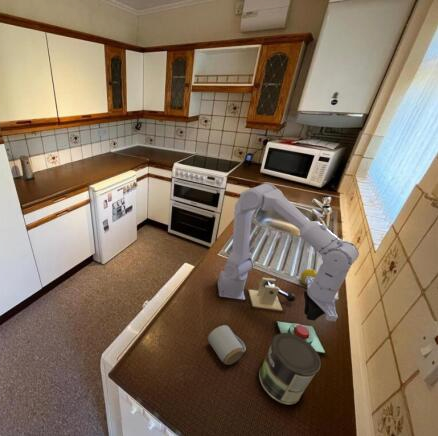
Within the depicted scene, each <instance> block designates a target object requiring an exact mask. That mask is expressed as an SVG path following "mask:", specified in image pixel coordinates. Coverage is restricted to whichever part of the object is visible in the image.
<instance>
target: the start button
mask: <svg viewBox="0 0 438 436" xmlns="http://www.w3.org/2000/svg"><path fill="white" fill-rule="evenodd" d="M303 325H304V324H301V325H297V326H296V328H295V334H296V335H297V336H299V337H301V338H303V339H305V338H307V337H308V335H309V330H308V329H307V328H306V327H305V326H306V325H305V326H303Z"/></svg>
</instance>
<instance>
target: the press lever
mask: <svg viewBox="0 0 438 436" xmlns="http://www.w3.org/2000/svg"><path fill="white" fill-rule="evenodd" d="M265 285H267V286H275V287H276V285H275V284H273V283H271V282H269V281H267V282H266V283H265V284H263V286H264V287H265ZM278 294H279V295H280V296H282V297H285V299H286V300H287V301H288V302H290V303H293V302H295V300H296V296H295V294H293V293H291V292H288V293H287V292H285V291H283V290H281V289H279V291H278Z"/></svg>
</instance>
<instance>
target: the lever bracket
mask: <svg viewBox="0 0 438 436" xmlns="http://www.w3.org/2000/svg"><path fill="white" fill-rule="evenodd" d="M267 281H269V282H271V283H273V284H274V285H275V284H276V281H277V280H276V278H271V277H261V279H260V284H259V287H258V289H257V290H256V289H248V294H249V299H250V302H251V306H252V308H256V309H263V310H264V309H265V310H271V311H278V312H283V307H282V305H281V302H280V299H279V297H278V294H279V293H278V291H279V290H280V287H279V286H276V285H275V286H267V285H265V287H264V286H263V284H265V283H266V282H267Z"/></svg>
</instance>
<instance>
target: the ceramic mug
mask: <svg viewBox="0 0 438 436" xmlns="http://www.w3.org/2000/svg"><path fill="white" fill-rule="evenodd" d="M207 342H208V343H209V345H210V346H211V348H213V351H214V352H215V353H216V355H217V357H218V359H219V360H220V361H221V362H222V363H223V364H224V365H227V366H229V365H230V366H231V365H232V364H234V363H236V362H238V361H239V360H240V359H241V358H242V357H243V356H244V354H245V352H246V350H247V347H246V345H245V343H244V341H243V340H242V339H241V338H240V337H238V336H237V335H235V334H234V332H233V331H232V329H231V327H230V326H228V325H226V324H223V325H219V326H218V327H216V328H214V329H213V330H212V331H211V332H210V333H209V335H208V336H207Z"/></svg>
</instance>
